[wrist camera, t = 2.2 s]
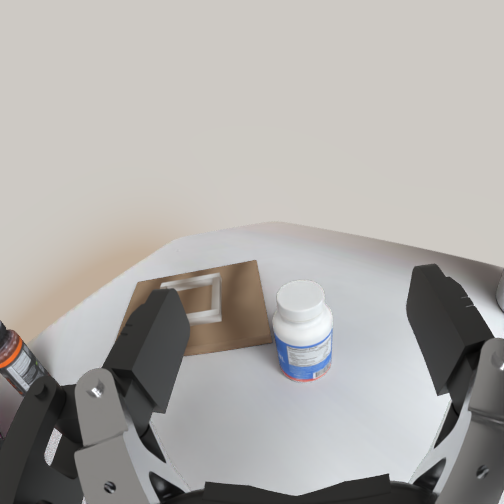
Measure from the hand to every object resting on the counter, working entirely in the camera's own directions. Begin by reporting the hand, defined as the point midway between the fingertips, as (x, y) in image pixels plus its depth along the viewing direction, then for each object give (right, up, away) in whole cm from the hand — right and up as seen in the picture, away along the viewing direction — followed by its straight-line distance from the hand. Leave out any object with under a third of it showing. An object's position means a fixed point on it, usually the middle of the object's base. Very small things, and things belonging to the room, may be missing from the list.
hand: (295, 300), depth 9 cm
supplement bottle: (-31, -18, +18) cm, 40 cm away
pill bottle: (+4, -10, +19) cm, 22 cm away
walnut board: (-10, -7, +29) cm, 31 cm away
